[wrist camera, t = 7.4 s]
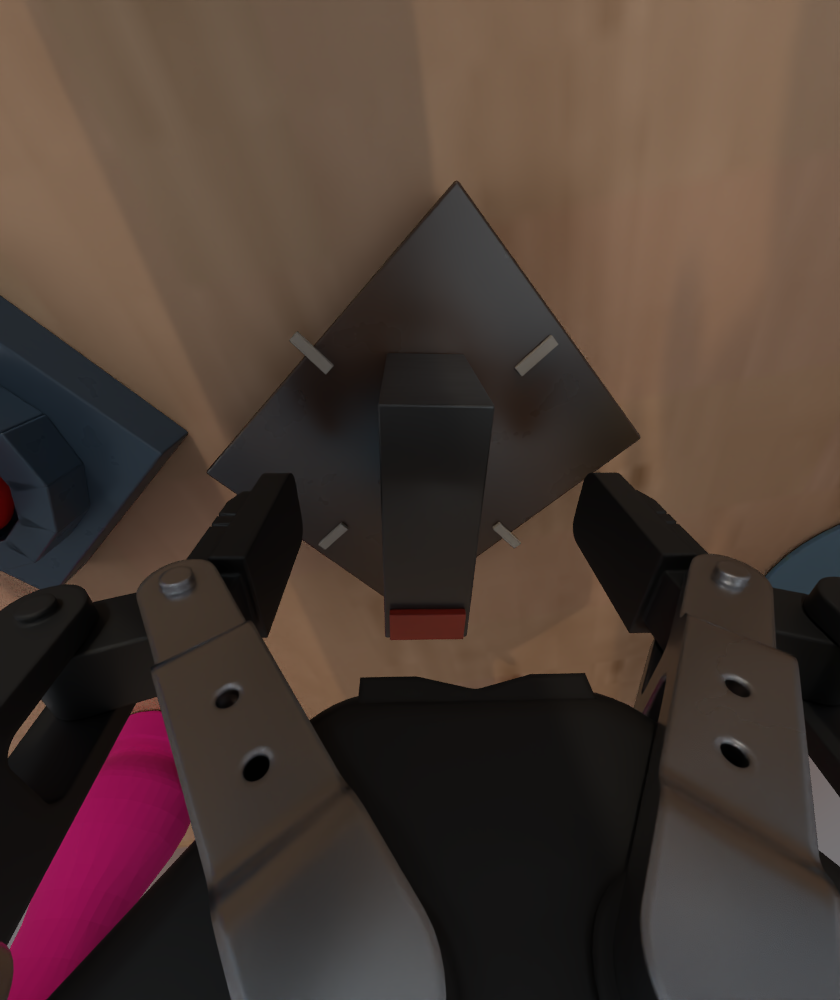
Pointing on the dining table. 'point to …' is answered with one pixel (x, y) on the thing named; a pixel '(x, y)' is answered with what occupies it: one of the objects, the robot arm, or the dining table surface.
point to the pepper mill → (103, 858)
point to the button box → (68, 451)
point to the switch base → (432, 330)
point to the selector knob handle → (431, 491)
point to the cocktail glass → (808, 563)
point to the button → (5, 504)
